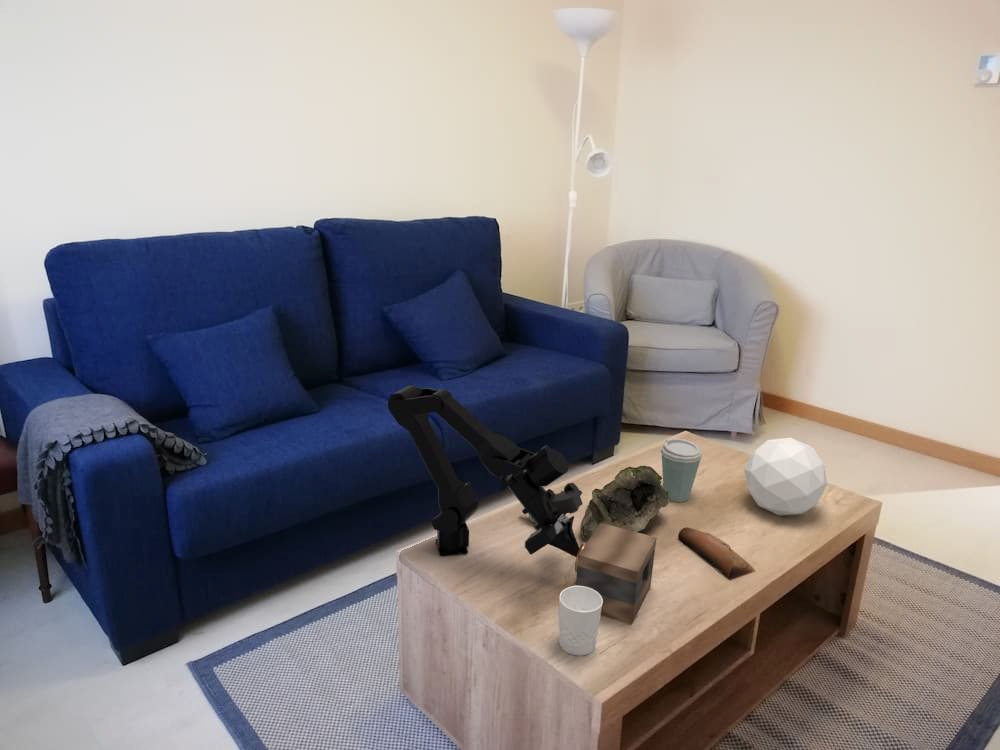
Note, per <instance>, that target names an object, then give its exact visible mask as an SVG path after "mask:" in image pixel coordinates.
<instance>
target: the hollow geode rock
mask: <svg viewBox="0 0 1000 750" xmlns="http://www.w3.org/2000/svg"><path fill="white" fill-rule="evenodd" d="M661 480H662V481H663V476H661V475H660V473H658V472H657V471H656V470H655V469H654V468H652V467H651V466H646V465H639V466H636V467H633V466H632V467H631V466H628V467H625V468H624V469H621V470H620V471H619V472H618V473H617V474H616V475H615V476H614V479H613V480H611V481H610V482H608V483H607V484H604V485H603V487H602V489H599V488H594V489H593V490H592V491H591V494H592V495H591V496H592V498H591V499H590V501H589V502H588V505H587V507H586V509H585V512H584V516H583V517H582V519H581V522H580V531H581V532H582V537H583V540H584V542H586V543H587V542H588V540H589V539H590V537H591V536H592V534H593V533H594V532H595V530H596V529H597V527H598V526H599V524H600V523H603V524H607V525H611V526H615V527H619V528H622V529H626V530H630V531H634V532H639V531H642V530H644V529H646V527H647V525H648V523H649V521H650V520H651V519H652V518H654V517H655V516H656V515H657V514H658V513H659V511H660V510H661V508H667V506H668V505H669V501H670V500H669V498H670V497H669V496H668V491H667V492H666V491H665V490H664V489H663V485H661V484H662V481H661Z"/></svg>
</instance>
